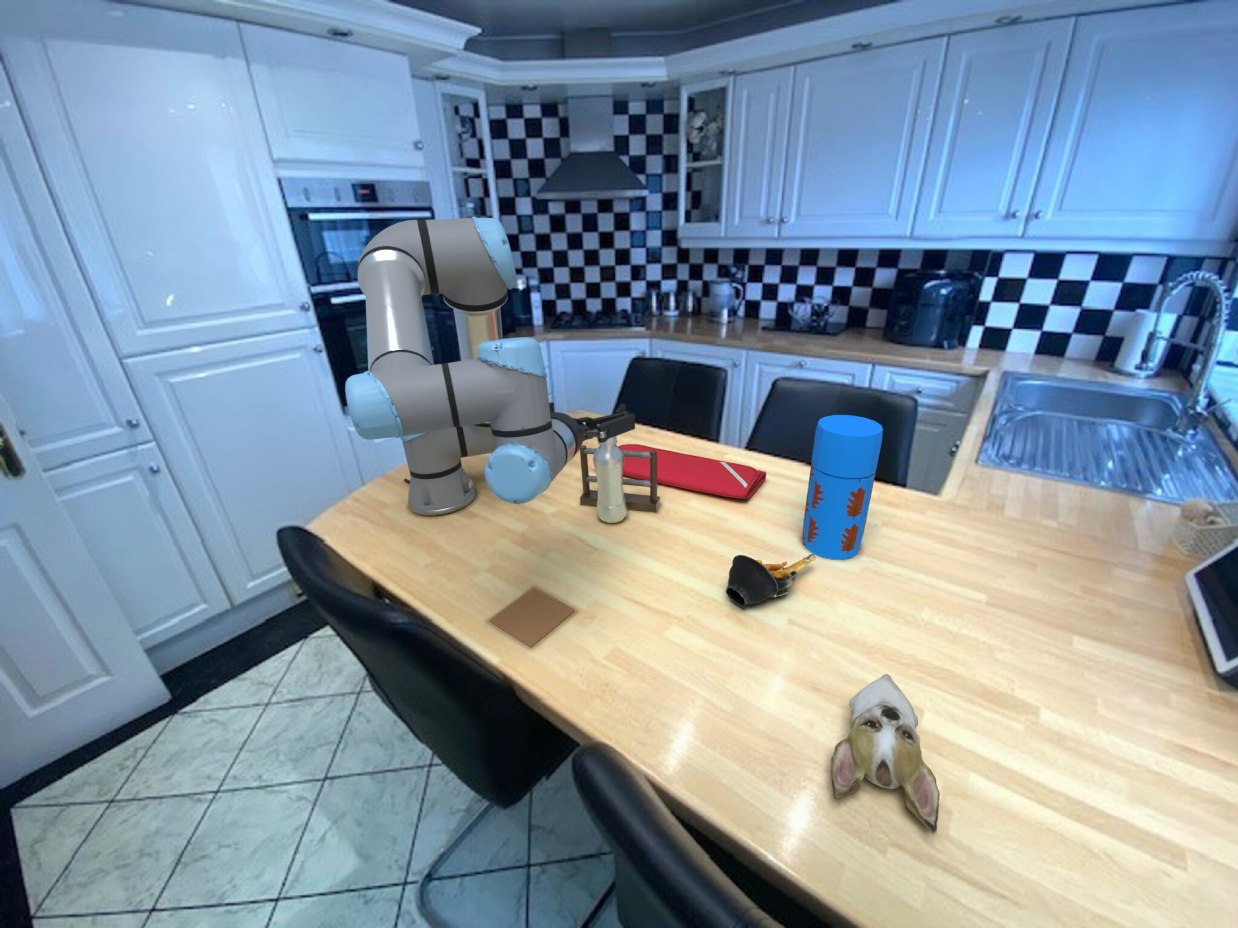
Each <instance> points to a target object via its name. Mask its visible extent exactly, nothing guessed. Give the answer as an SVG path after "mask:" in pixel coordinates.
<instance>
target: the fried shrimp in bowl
mask: <svg viewBox="0 0 1238 928" xmlns="http://www.w3.org/2000/svg"><path fill="white" fill-rule="evenodd" d="M816 556H817V555H816V554H813V553H811V554H809V555H807V556H806V557H803V558H802V559H801V560H799V561H797V562H795V563H793V564H791V565H789V566H787V564H788V561H783V562H782V563H763V560H762V559H754V558H753V557H750V556H747V555H745V554H744V555H743V554H738V555H735V556H734V557H733V558H732V565H731V566H730V569H729V570H728V580H727V587H726V590H725V594H726V596H727V597H728V599H730V600H731V601H732V602H733V603H734V604H736V605H737V606H738V607H740V608H745V607H746V606H747V605H756V604H760V603H762V602H763V601H765V600H767V599H768V598H770V599H774V598H777V597H781V596H784V595H786V594H788V593H789V592H790V590H789V588H790V587H792V585H793V584H794V583H795V581H796V578H797V577H798V574H799V573H798V572H799V571H800V570H801V569H802V568H803V567H804V566H807V565H809V564H810V563H812V562H814V561H816V558H817V557H816Z"/></svg>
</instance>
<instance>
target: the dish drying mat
mask: <svg viewBox="0 0 1238 928" xmlns="http://www.w3.org/2000/svg"><path fill="white" fill-rule="evenodd" d="M617 446H618V447H619V449H620V450H626V451H639V452H650V451H651V450H655V451H657V484H660V485H661V484H662V485H666V486H672V487H676V488H681V489H685V490H691V491H695V492H701V493H706V494H711V495H716V496H721V497H726V498H733V499H734V498H735V499H741V500H749V499H751V498H752V497H753V496H754V495H755V493H756V492H757V491H758V489H759V488H760V487H761V485H762V484H763V483H764V482H766V479H767V472H766V471H764V470H760V469H756V468H755V467H754V466H753V467H752V466H749V465H746V464H741V463H737V462H730V461H725V460H721V459H720V460H719V459H715V458H710V457H705V456H700V455H694V454H690V453H689V454H688V453H683V452H678V451H673V450H668V449H662V448H657V447H654V446H653V447H652V446H648V445H644V444H639V443H627V444H626V443H625V444H621V445H617ZM623 476H625V477H631V478H634V479H638V480H646V481H650V459H647V458H634V457H624V468H623Z"/></svg>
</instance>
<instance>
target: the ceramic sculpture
mask: <svg viewBox="0 0 1238 928" xmlns="http://www.w3.org/2000/svg"><path fill="white" fill-rule="evenodd" d="M848 706H849V710H850V713H851V718H850V727H849V729H850V731H849V734H848V735H847V737H846V738H844V739H842V740H840V741H839V742H838V743H837V744H836V745H835V746H834V751H833V754H832V756H831V759H830V763H831V765H830V773H831V774H830V777H831V779H830V780H831V786H832V789H833V796H834V799H836V800H839V799H841V798H843V797H845V796H849V795H851V794H852V793H855V792H857V791H859V790H860V789H861V788H862V784H863V780H864V779H867V780H868V781H869V782H871V783H872V784H874V785H876V786H878V787H880V788H883V789H890V790H896V789H898V788H901V787H902V788H903V800H904V801H903V802H904V804H905V806H906V807H907V809H908V810H909V811H910V812H911V813H912V814H913V815H914V816H915V817H916V819H918V820H919V821H920V822H921V823H922V824H923V825H924V826H925V828H927V830H928V831H929V832H931V834H934V835H936V834H937V829H938V824H937V823H938V821H939V820H938V819H939V807H940V795H941V794H940V790H939V788H938V785H937V778H936V776H935V774H934V773H933V771H932V769H931V768H930V767H929V766H928V765H927V764H926V763H925V761H924V759H923V755H922V749H921V741H920V740H921V739H920V735H919V734H918V731H917V726H918V725H919V717H918V716H917V715H916V713H915V709H914V707H913V706H912V703H911V702H910V700H909V699H908V698H907V696H906V695H905V693H904V692H903V691H902V689H901V688H900V687H899V686H898V684H897V683H895V681H894V680H893V679H892V676H891V675H890V674H888V673H885V674H883V675H882V676H880V677H878V678H877V679H875V680H873V681H872V682H870V683H869V684H868V685H866V686H865V687H863V688H862V689H860V690H859V691H858V692H857V693H856V694H855V695H854V696H853V697H851V698H850V699H849V703H848Z"/></svg>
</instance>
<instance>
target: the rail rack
mask: <svg viewBox="0 0 1238 928" xmlns="http://www.w3.org/2000/svg"><path fill="white" fill-rule="evenodd" d="M597 448H598V447H597ZM597 448H596V447H587V445H586V444H582V446H581V448H580V450H579V458H580V470H581V482H582V494H581V495H580V496H579V501H580V504H579V505H581V506H591V507H597V500H598V489H591V487H590V486H591V485H590V483H597V477H596V475H590V473H589V472H590V471H589V459H588V455H594V453H595V451H596V450H597ZM621 451H622V453H623V455H624V457H634V458H647V459H650V481H647V480H643V479H635V478H634V479H633V478H623V486H632V487H643V488H649V494H641V493H640V494H638V493H631V492H630V493H629V492H624V497H625V500H626V504H627V511H639V512H647V513H657V512H658V510H659V507H660V505H661V496H660V495H658V483H657V451H655V450H651V451H650V452H639V451H626V450H621Z"/></svg>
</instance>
